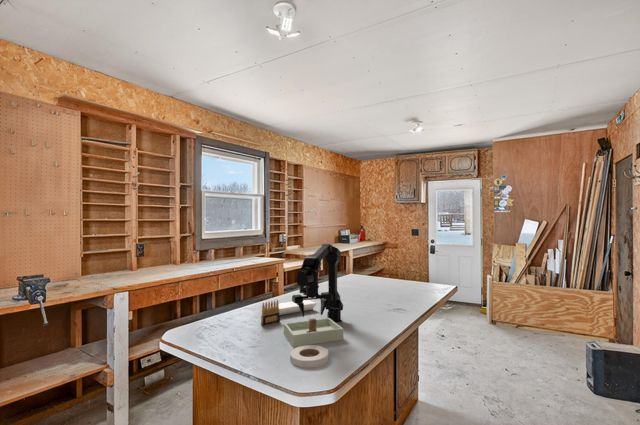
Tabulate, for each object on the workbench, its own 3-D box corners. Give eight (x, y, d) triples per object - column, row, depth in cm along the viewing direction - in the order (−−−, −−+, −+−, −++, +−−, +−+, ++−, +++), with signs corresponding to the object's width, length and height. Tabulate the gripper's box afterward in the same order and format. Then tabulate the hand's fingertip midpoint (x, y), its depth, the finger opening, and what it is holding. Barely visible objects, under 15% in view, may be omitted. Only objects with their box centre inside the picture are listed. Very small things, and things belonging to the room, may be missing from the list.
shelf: (316, 311, 195) (316, 302, 196) (270, 319, 180) (270, 310, 180) (307, 307, 205) (307, 299, 205) (263, 314, 189) (263, 306, 189)
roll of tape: (282, 362, 125) (282, 355, 125) (304, 349, 138) (304, 342, 138) (315, 371, 117) (315, 364, 117) (335, 356, 130) (335, 349, 130)
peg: (315, 334, 154) (314, 318, 155) (317, 337, 151) (317, 320, 151) (308, 335, 153) (307, 318, 153) (310, 338, 150) (310, 321, 150)
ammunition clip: (262, 326, 168) (262, 303, 168) (261, 325, 169) (260, 302, 170) (279, 321, 175) (279, 299, 175) (277, 321, 176) (277, 299, 177)
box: (329, 327, 164) (329, 317, 165) (343, 339, 147) (343, 328, 148) (283, 333, 156) (283, 323, 156) (293, 346, 139) (293, 335, 140)
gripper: (324, 278, 163) (324, 309, 163) (289, 281, 157) (289, 313, 156) (332, 282, 153) (332, 315, 152) (295, 285, 147) (295, 319, 146)
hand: (312, 315), depth 152 cm, fingers open, 9 cm apart
